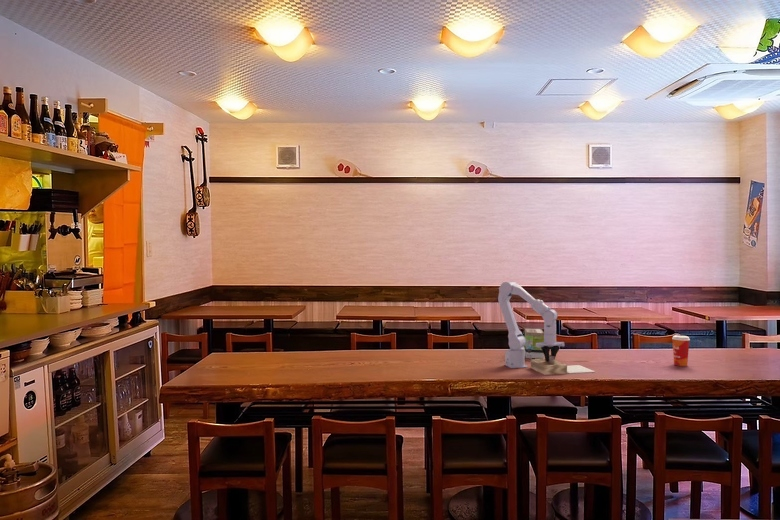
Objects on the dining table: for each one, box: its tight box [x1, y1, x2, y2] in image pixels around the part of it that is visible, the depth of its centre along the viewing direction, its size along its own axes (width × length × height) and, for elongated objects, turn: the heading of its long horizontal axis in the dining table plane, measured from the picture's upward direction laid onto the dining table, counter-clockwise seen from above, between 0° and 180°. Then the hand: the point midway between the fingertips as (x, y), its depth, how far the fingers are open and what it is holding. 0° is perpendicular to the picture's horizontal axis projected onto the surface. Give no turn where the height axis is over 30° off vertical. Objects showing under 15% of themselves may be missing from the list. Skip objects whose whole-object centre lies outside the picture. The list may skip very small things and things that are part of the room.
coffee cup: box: [671, 334, 691, 367], centre depth 261 cm, size 8×8×15 cm
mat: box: [567, 364, 596, 374], centre depth 251 cm, size 14×14×1 cm
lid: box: [537, 353, 565, 365], centre depth 249 cm, size 11×11×4 cm
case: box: [530, 358, 568, 376], centre depth 249 cm, size 12×14×4 cm
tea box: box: [523, 328, 545, 360], centre depth 284 cm, size 15×10×15 cm, turn 168°
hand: (549, 361), depth 249 cm, fingers closed on lid, 2 cm apart
